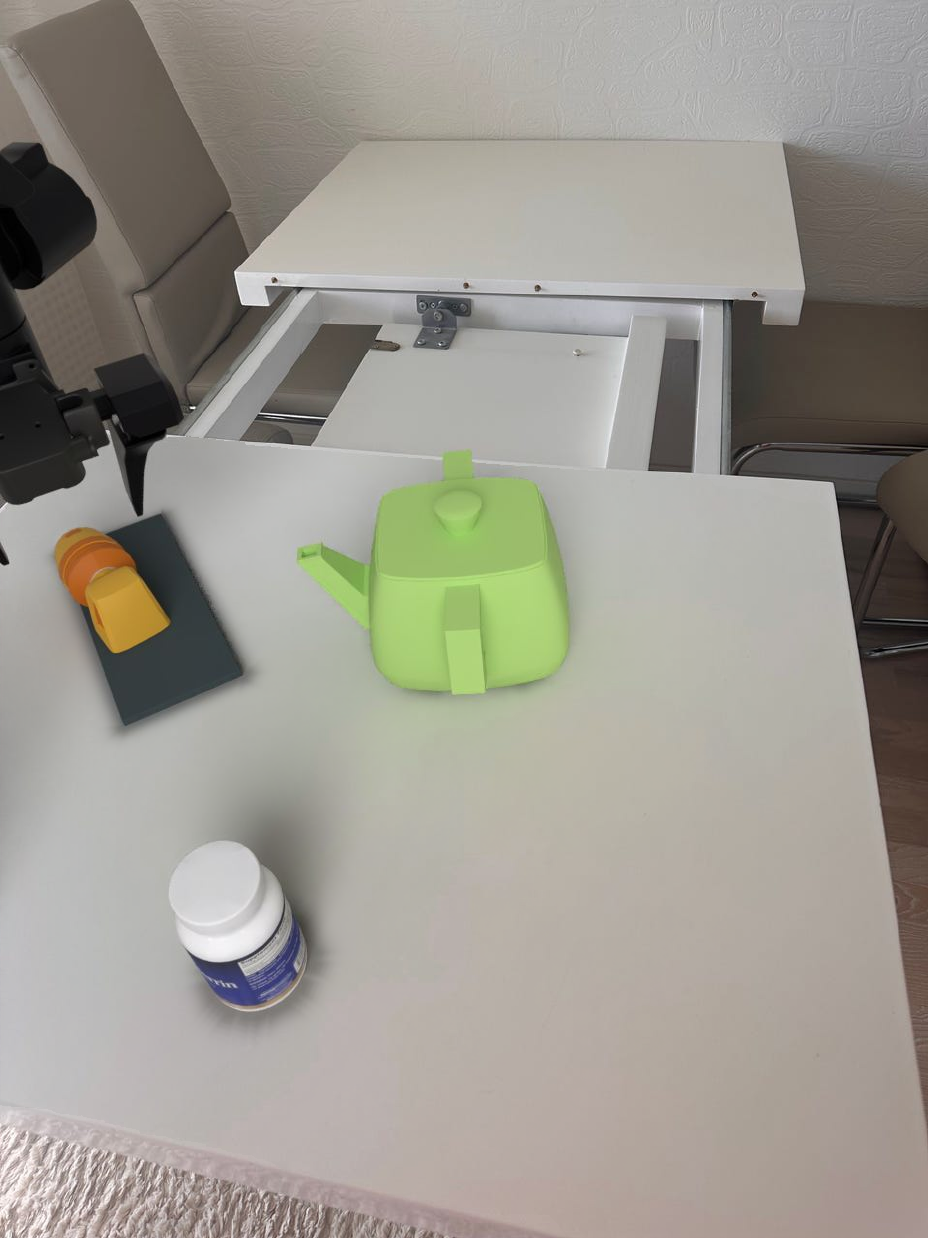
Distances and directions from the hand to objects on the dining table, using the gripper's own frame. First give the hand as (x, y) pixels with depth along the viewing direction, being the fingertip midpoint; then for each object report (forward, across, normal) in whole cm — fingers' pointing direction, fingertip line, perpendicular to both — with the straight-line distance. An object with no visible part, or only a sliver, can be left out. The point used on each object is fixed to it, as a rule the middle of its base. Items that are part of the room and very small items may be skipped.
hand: (73, 537), depth 65 cm
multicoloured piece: (+11, 0, +6) cm, 12 cm away
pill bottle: (+12, 0, -29) cm, 32 cm away
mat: (+11, +2, +4) cm, 12 cm away
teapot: (+12, +21, -13) cm, 27 cm away
